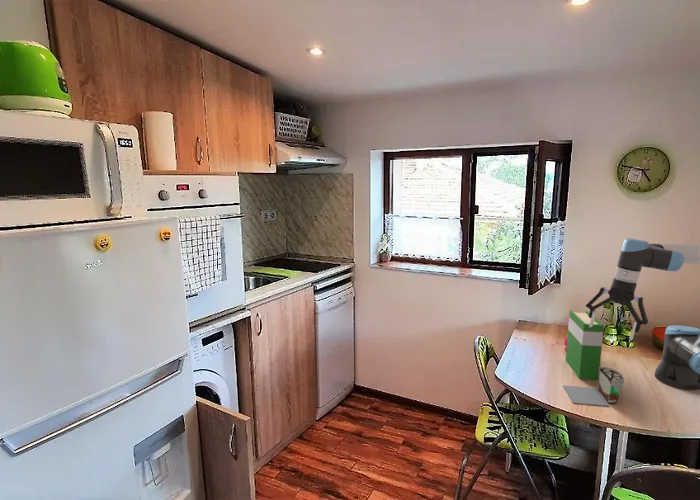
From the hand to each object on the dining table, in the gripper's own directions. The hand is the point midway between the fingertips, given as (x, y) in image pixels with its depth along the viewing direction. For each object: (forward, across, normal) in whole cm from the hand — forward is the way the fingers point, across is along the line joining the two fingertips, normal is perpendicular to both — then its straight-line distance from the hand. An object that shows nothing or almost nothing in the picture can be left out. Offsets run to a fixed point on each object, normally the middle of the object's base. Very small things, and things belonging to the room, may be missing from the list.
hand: (610, 332), depth 157 cm
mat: (+25, -2, -7) cm, 26 cm away
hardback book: (+25, -8, +16) cm, 30 cm away
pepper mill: (+24, -17, +33) cm, 44 cm away
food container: (+24, +6, -2) cm, 25 cm away
